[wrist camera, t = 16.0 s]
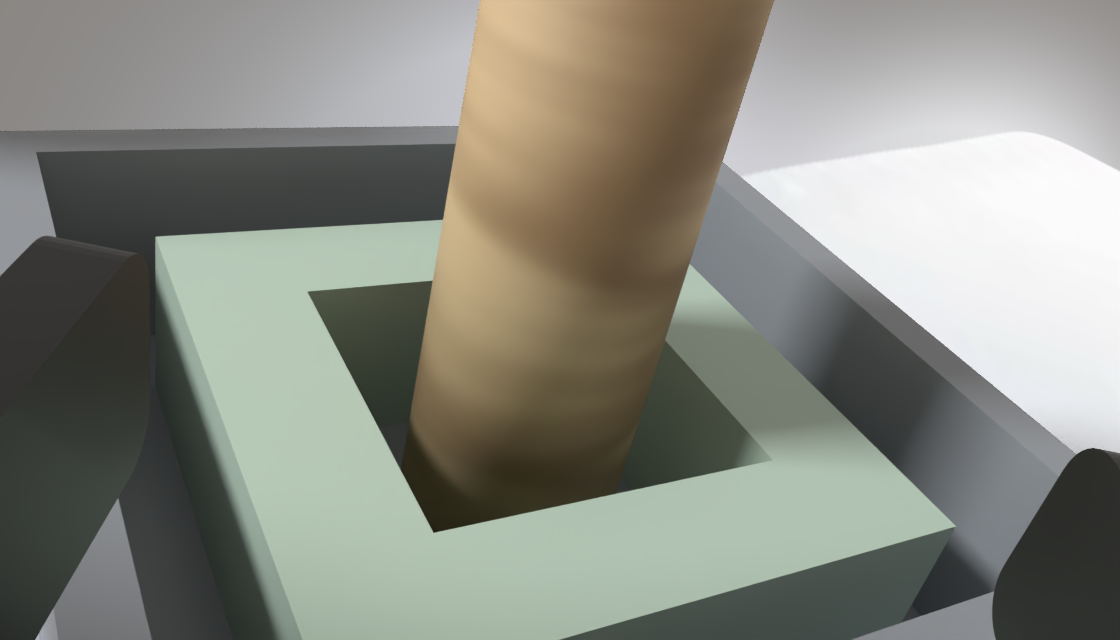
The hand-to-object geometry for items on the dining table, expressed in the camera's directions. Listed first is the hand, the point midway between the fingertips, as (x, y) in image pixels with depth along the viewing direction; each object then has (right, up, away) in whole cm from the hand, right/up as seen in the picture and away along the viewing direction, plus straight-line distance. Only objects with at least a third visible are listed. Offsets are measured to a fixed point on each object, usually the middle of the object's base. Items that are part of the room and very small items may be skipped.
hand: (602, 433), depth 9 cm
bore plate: (-2, -4, +14) cm, 15 cm away
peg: (-2, -3, +14) cm, 14 cm away
